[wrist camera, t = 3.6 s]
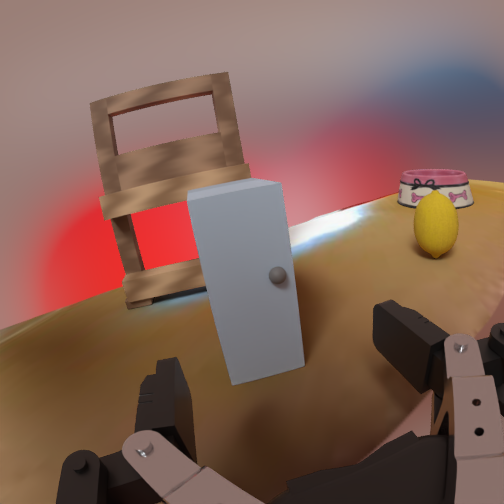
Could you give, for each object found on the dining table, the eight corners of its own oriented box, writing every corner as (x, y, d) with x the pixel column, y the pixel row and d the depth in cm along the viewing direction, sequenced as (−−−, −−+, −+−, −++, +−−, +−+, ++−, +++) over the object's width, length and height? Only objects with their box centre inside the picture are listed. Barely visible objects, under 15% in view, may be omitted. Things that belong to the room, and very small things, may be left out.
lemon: (410, 251, 35) (408, 187, 33) (450, 249, 33) (449, 185, 31) (418, 268, 30) (417, 195, 28) (463, 265, 28) (464, 193, 26)
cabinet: (233, 391, 18) (186, 202, 15) (219, 328, 26) (187, 190, 23) (307, 371, 19) (284, 183, 16) (274, 314, 27) (251, 177, 24)
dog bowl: (480, 198, 57) (478, 169, 55) (463, 214, 47) (462, 177, 45) (415, 193, 71) (413, 167, 69) (383, 207, 61) (380, 175, 59)
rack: (127, 311, 33) (78, 100, 26) (135, 289, 39) (95, 110, 32) (272, 278, 35) (235, 64, 28) (259, 261, 41) (227, 80, 34)
